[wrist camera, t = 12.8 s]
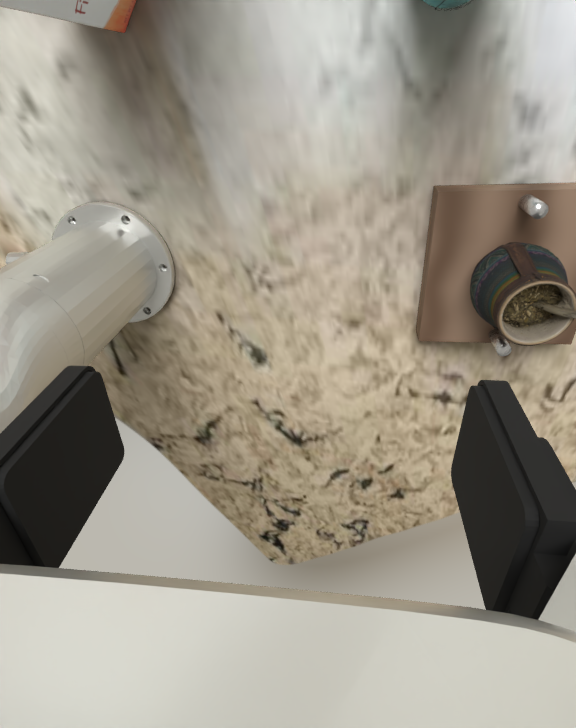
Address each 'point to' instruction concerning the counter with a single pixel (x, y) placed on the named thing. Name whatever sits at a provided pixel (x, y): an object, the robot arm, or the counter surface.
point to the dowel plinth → (488, 251)
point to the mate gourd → (523, 293)
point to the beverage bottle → (446, 3)
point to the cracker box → (80, 11)
